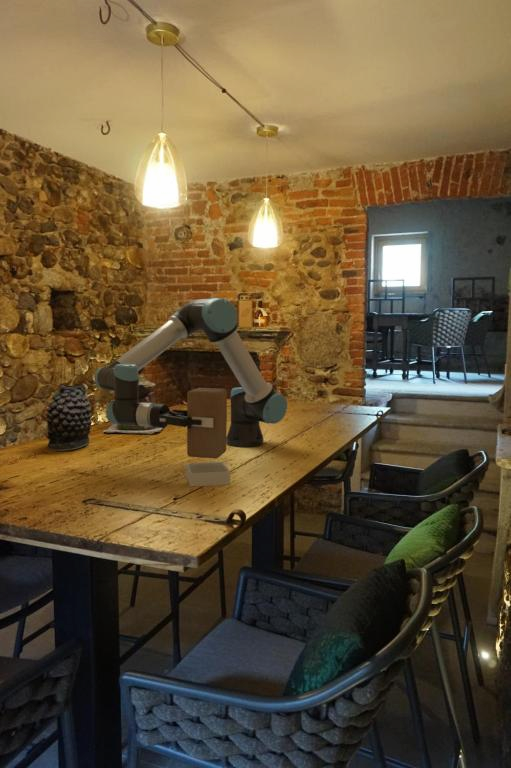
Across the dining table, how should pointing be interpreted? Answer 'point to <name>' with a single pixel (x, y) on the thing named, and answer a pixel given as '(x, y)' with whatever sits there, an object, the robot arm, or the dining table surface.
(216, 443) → the block
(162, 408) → the robot arm
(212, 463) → the tray
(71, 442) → the studded ceramic pot
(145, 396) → the cookie jar
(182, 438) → the dining table surface
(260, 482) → the dining table surface
